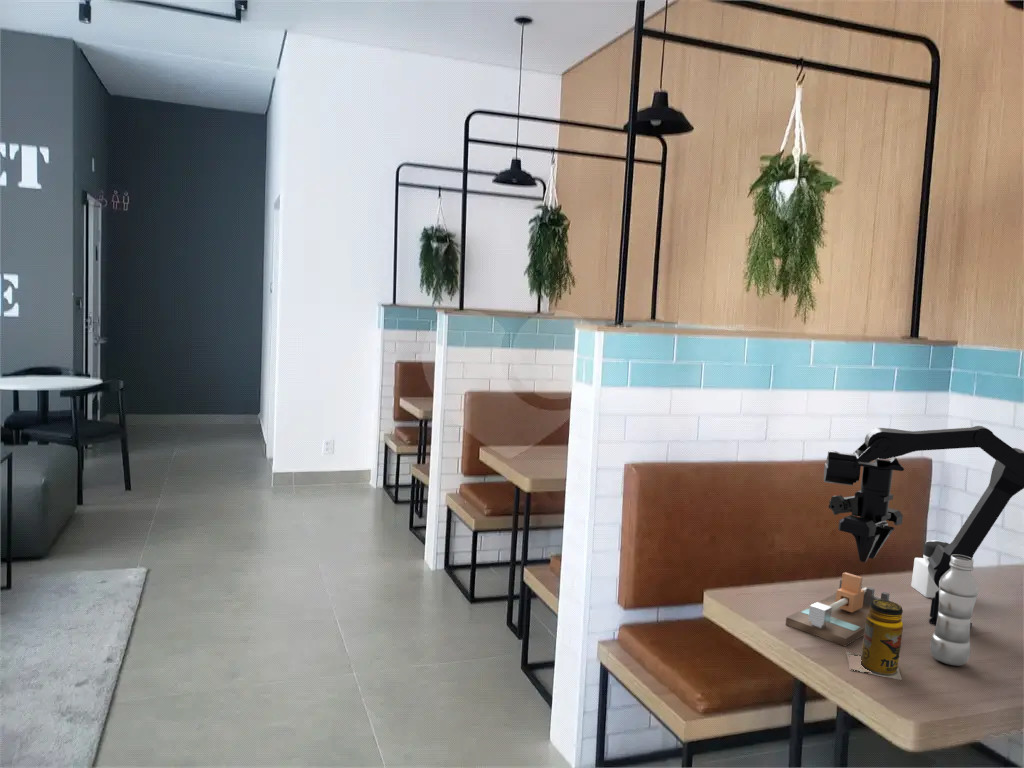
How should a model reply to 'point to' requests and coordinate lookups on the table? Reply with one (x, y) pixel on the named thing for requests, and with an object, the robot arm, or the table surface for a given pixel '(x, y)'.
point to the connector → (819, 615)
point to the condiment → (882, 639)
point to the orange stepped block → (851, 592)
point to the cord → (842, 602)
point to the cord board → (833, 623)
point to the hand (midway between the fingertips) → (866, 560)
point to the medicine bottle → (925, 571)
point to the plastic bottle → (955, 612)
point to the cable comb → (871, 595)
